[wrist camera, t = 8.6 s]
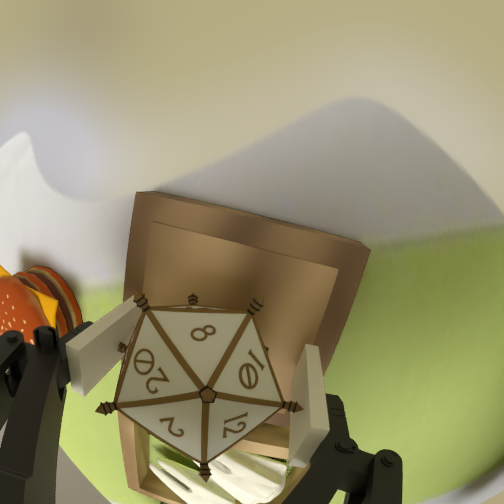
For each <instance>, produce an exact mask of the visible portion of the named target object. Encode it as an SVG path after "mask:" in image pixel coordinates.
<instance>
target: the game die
mask: <svg viewBox="0 0 504 504" xmlns="http://www.w3.org/2000/svg"><path fill="white" fill-rule="evenodd" d="M188 299H189V300H188V302H189V304H190V305H171V306H149V305H148V302H147V301H148V299H146V298H145V293H144V294H142V293H140V292H138V291H136V290H134V300H133V302H135V303H136V304H137V305H136V306H137V307H140V308H141V309H142V313H141V316H140V318H139V320H138V322H137V325H136V327H135V329H134V331H133V334H132V336H131V338H130V341H129V343H128V345H127V346H126V345H125V344H123V343H122V342H120V344H119V346H118V352H119V351H120V352H121V353H125V354H124V358H123V362H122V366H121V370H120V375H119V379H118V383H117V388H116V392H115V397H114V402H112V403H110V402H107V401H106V403H102V402H100V403H101V404H100V406H99V407H98V408H97V410H96V411H95V412H98V413H101V414H105V416H106V415H107V414H108V413H110V414H112V412H113V411H114V410H117V411H119V412H120V413H121V414H123V415H124V416H125V417H127V418H128V419H129V420H131V421H132V422H134V423H135V424H136V425H138V426H139V427H141V428H142V429H144V430H145V431H146V432H147V434H148V435H152V436H154V437H155V438H157V439H159V440H160V441H162V442H163V443H165V444H166V445H168V446H170V447H171V448H173V449H175V450H176V451H178V452H180V453H181V454H183V455H185V456H187V457H188V458H190V459H192V460H194V461H196V462H197V463H199V464H200V468H199V469H198V471H199V474H198V475H200V476H201V478H202V479H203V480H204V481H205V482H206V483H207V481H208V480H209V478H210V476H211V475H212V474H211V472H210V470H211V469H210V468H209V466H208V463H210V462H211V461H213V460H214V459H216V458H217V457H219V456H220V455H222V454H223V453H224V452H226V451H227V450H229V449H230V448H232V447H233V446H234V445H236V444H237V443H239V442H240V441H241V440H243V439H244V438H245V437H247V436H248V435H249V434H251V433H252V432H253V431H255V430H256V429H257V428H258V427H260V426H261V425H262V424H264V423H265V422H266V421H267V420H269V419H270V418H271V417H272V416H274V415H275V414H276V413H277V412H278V411H280V410H281V409H286V410H287V411H288V412H289V411H290V412H293V414H294V413H295V412H298V411H302V410H304V409H303V408H302V407H301V406H300V405H299V404H298V403H297V402H298V401H296V402H292V400H291V401H289V402H286V401H284V398H283V396H282V393H281V390H280V387H279V384H278V382H277V379H276V376H275V373H274V371H273V368H272V365H271V362H270V359H269V356H268V350H269V348H268V347H266V346H265V345H264V342H263V339H262V337H261V334H260V331H259V328H258V325H257V322H256V319H255V316H254V314H255V313H256V312H257V311H260V308H261V307H264V305H263V302H264V296H261V297H258V298H255V299H254V298H253V301H252V302H251V303H249V304H250V306H249V309H247V310H243V309H233V308H222V307H213V306H203V305H196V304H197V303H198V300H197V299H198V297H197V296H196V295H195V294H194V293H192V294H191V295H190V296H188Z"/></svg>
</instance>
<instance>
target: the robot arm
mask: <svg viewBox="0 0 504 504" xmlns="http://www.w3.org/2000/svg"><path fill="white" fill-rule="evenodd" d="M133 300H134V295H133V296H132V297H130V298H129V299H127V300H126V301H125V302H123V303H122V304H120V305H119V306H117V307H116V308H115V309H113V310H112V311H110V312H109V313H108V314H106V315H105V316H103V317H102V318H101V319H99V320H98V321H96V322H95V323H92V322H90V321H88V322H84V323H81V324H79V325H78V326H77V327H75V329H72V330H71V331H70V332H68V333H66V334H65V335H63V336H62V337H61V338H59V334H58V331H57V329H55V328H54V327H51V326H39V327H37V328H35V329H34V330H33V337H34V343H35V345H33V344H30V343H27V342H25V340H24V335H23V334H22V333H21V332H19V331H17V330H9V331H6V332H4V333H3V334H2V335H1V336H0V430H1V429H2V427H3V425H4V424H5V422H6V421H7V419H8V421H7V424H6V428H5V432H4V435H3V439H2V443H1V448H0V504H55V491H56V469H57V456H58V446H59V437H60V430H61V422H62V416H63V410H64V404H65V398H66V393H67V388H66V385H67V384H68V383H69V382H70V381H71V387H72V390H73V391H75V392H77V393H79V394H80V395H82V396H84V397H85V396H86V394H87V393H88V392H89V391H90V390H91V389H92V388H93V387H94V386H95V385H96V384H97V383H98V382H99V381H100V380H101V379H102V378H103V377H104V376H105V375H106V374H107V373H108V372H109V371H110V370H111V369H112V368H113V366H114V365H115V364H116V363H117V362H118V361H119V360H120V359H121V358H122V357H123V356H124V354H125V353H121V352H120V351H119V352H118V346H119V344H120V342H122V343H123V344H125V345H126V346H127V345H128V343H129V341H130V338H131V336H132V334H133V331H134V329H135V327H136V325H137V322H138V320H139V318H140V316H141V313H142V309H141V308H140V307H137V306H136V305H137V304H136V303H135V302H133ZM7 369H8V372H7V373H5V372H6V370H7ZM291 400H292V402H296V401H298V402H297V403H298V404H299V405H300V406H301V407H302V408H303V409H304V410H302V411H298V412H295V413H294V414H293V412H290V436H289V457H288V466H293V467H301V468H305V467H306V466H307V464H308V463H309V461H310V468H309V470H308V471H307V472H306V474H305V475H304V476H303V478H302V479H301V480H300V481H299V483H298V484H297V485H296V486H295V488H294V489H293V490H292V491H291V493H290V494H289V495H288V496H287V497H286V498H285V500H284V501H283V502H282V503H281V504H329V502H330V501H331V499H332V498H333V496H334V494H335V493H336V491H337V490H338V489H339V490H342V491H345V492H346V495H345V499H344V504H402V479H403V472H402V459H401V457H400V456H399V455H398V454H397V453H396V452H394V451H392V450H387V449H383V450H380V451H379V452H377V453H376V455H374V454H370V453H367V452H364V451H362V450H359V449H358V445H357V444H356V442H355V441H354V440H353V439H351V438H350V437H349V431H348V426H347V421H346V417H345V416H346V415H345V411H344V405H343V402H342V401H341V399H340V398H339V396H338V395H332V394H326V393H325V388H324V381H323V374H322V367H321V360H320V354H319V348H318V346H314V345H310V344H305V346H304V349H303V352H302V354H301V357H300V360H299V362H298V365H297V367H296V370H295V372H294V375H293V378H292V380H291Z"/></svg>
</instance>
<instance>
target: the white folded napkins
mask: <svg viewBox="0 0 504 504" xmlns="http://www.w3.org/2000/svg"><path fill="white" fill-rule="evenodd" d="M193 461H194V460H193ZM157 462H158V463H159V464H160V465H161V466H162V467H163V468H164V469H166V470H167V471H168V472H169V473H171V474H172V475H173V476H172V475H171V474H169V473H168V472H166V471H165V470H163V469H162V468H160V467H159V466H157V465H155V464H154V463H152V462H151V463H150V464H149V467H150V469H151V470H152V471H153V472H154V473H155V475H157V476H158V477H159V478H160V479H161V481H163V482H164V483H165V484H166V485H167V486H168V487H169V488H170V489H171V490H172V491H173V492H175V493H176V494H177V495H178V496H179V497H180V498H182V499H183V500H184V501H185V502H187V503H188V504H235V503H236V502H235V499H237V500H239V501H240V502H241V503H243V504H257V503H267V502H270V501H271V500H272V499H273V498H275V497H276V496H278V495H279V494H280V493H281V492H282V490H283V488H284V485H285V480H286V469H287V465H286V463H283V462H280V461H277V460H273V459H270V458H267V457H264V456H260V455H257V454H254V453H250V452H245V451H241V450H237V449H233V448H230V449H229V450H227V451H226V452H224V453H223V454H222V455H220V456H219V457H217V458H216V459H214V460H213V461H211V462H210V463H208V466H209V468H210V469H211V470H210V472H211V474H212V475H211V476H210V478H209V480H208V481H207V483H206V482H205V481H204V480H203V479H202V478H201V476H200V475H198V474H199V471H197V470H194V469H192V468H189V467H186V466H184V465H182V464H179V463H177V462H175V461H172V460H169V459H165V458H161V457H160V458H157ZM194 462H195V463H196V464H197V465H198V466H199V467H200V464H199V463H197V462H196V461H194ZM174 476H175V477H174Z"/></svg>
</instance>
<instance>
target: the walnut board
mask: <svg viewBox="0 0 504 504" xmlns="http://www.w3.org/2000/svg"><path fill="white" fill-rule="evenodd" d="M369 253H370V249H369V248H367V247H366V246H365V245H363V244H362V243H361V242H358V241H354V240H351V239H347V238H344V237H340V236H336V235H333V234H329V233H325V232H322V231H318V230H314V229H310V228H307V227H303V226H299V225H295V224H291V223H288V222H284V221H280V220H276V219H272V218H268V217H264V216H260V215H256V214H252V213H248V212H244V211H239V210H235V209H231V208H227V207H223V206H218V205H214V204H210V203H205V202H201V201H196V200H192V199H187V198H183V197H178V196H174V195H169V194H164V193H160V192H155V191H147V192H136V196H135V202H134V208H133V214H132V221H131V228H130V235H129V243H128V251H127V260H126V271H125V282H124V295H123V302H125V301H126V300H127V299H129V298H130V297H132V296H133V295H134V290H136V291H138V292H140V293H142V294H144V293H145V298H146V299H148V301H147V302H148V305H149V306H171V305H190V304H189V302H188V300H189V299H188V296H190V295H191V294H192V293H194V294H195V295H196V296H197V297H198V299H197V300H198V303H197V304H196V305H203V306H213V307H222V308H233V309H243V310H247V309H249V306H250V304H249V303H251V302H252V301H253V298H254V299H255V298H258V297H261V296H264V302H263V305H264V307H261V308H260V311H257V312H256V313H255V314H254V316H255V319H256V322H257V325H258V328H259V331H260V334H261V337H262V339H263V342H264V345H265V346H266V347H268V348H269V350H268V356H269V359H270V362H271V365H272V368H273V371H274V373H275V376H276V379H277V382H278V384H279V387H280V390H281V393H282V396H283V398H284V401H286V402H289V401H291V380H292V378H293V375H294V372H295V370H296V367H297V365H298V362H299V360H300V357H301V354H302V352H303V349H304V346H305V344H310V345H314V346H318V348H319V354H320V360H321V367H322V374H323V376H324V374H325V372H326V370H327V367H328V365H329V363H330V360H331V358H332V356H333V353H334V351H335V348H336V346H337V344H338V341H339V339H340V336H341V334H342V331H343V329H344V326H345V323H346V321H347V318H348V315H349V313H350V310H351V307H352V305H353V302H354V299H355V296H356V293H357V290H358V287H359V285H360V282H361V279H362V276H363V272H364V269H365V266H366V263H367V260H368V257H369ZM123 358H124V356H123V357H122V358H121V365H122V362H123ZM265 423H268V424H273V425H278V426H283V427H288V428H290V411H289V412H288V411H287V410H286V409H281V410H280V411H278V412H277V413H276V414H275V415H274V416H272V417H271V418H270V419H269V420H267V421H266V422H265Z"/></svg>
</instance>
